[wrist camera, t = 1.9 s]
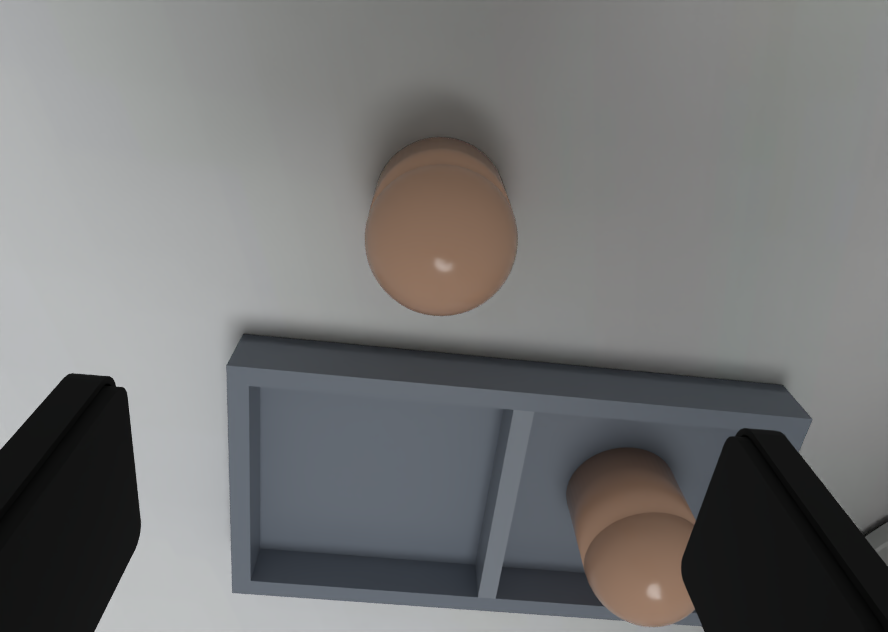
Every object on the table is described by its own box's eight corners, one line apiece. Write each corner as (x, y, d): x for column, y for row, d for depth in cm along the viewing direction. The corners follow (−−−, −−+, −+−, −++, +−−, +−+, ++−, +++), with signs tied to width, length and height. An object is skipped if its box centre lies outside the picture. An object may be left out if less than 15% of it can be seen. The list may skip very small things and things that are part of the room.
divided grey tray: (782, 385, 29) (812, 419, 27) (705, 584, 34) (724, 627, 32) (243, 334, 27) (226, 365, 25) (246, 550, 32) (232, 592, 30)
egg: (515, 145, 24) (540, 195, 19) (494, 270, 26) (512, 350, 21) (380, 129, 24) (362, 176, 18) (370, 257, 26) (352, 334, 20)
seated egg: (687, 452, 29) (749, 566, 24) (659, 536, 32) (709, 659, 26) (577, 442, 29) (613, 555, 23) (556, 528, 31) (584, 651, 26)
